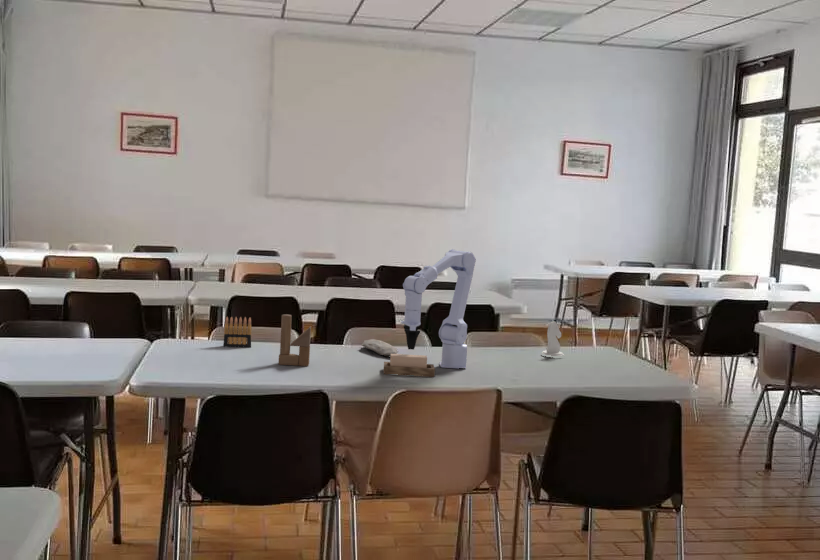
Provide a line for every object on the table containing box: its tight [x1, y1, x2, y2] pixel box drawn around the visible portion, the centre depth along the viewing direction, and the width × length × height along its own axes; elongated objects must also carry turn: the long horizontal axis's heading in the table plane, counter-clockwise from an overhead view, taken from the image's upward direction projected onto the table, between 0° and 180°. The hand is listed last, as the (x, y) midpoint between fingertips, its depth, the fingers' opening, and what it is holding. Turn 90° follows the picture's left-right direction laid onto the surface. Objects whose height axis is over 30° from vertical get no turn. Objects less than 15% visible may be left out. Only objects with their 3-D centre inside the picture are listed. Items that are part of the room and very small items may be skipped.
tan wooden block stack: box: [277, 313, 312, 367], centre depth 291 cm, size 4×11×18 cm, turn 92°
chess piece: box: [541, 320, 565, 356], centre depth 340 cm, size 10×10×15 cm
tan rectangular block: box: [389, 353, 428, 368], centre depth 290 cm, size 13×4×6 cm, turn 92°
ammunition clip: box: [222, 316, 252, 349], centre depth 317 cm, size 11×2×12 cm, turn 100°
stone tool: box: [361, 338, 399, 357], centre depth 324 cm, size 12×5×25 cm
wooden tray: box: [383, 361, 436, 378], centre depth 291 cm, size 18×8×3 cm, turn 92°
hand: (410, 347), depth 290 cm, fingers open, 7 cm apart
